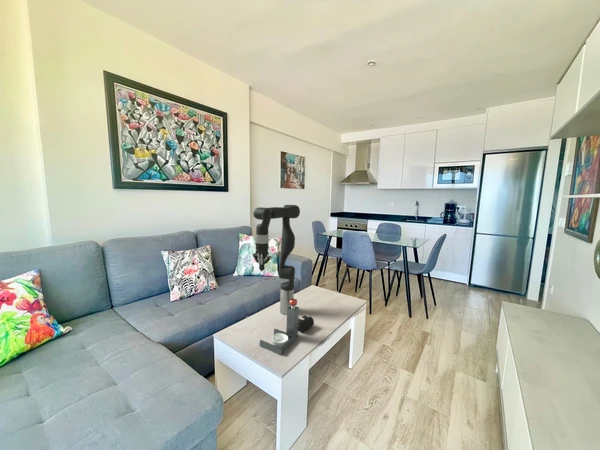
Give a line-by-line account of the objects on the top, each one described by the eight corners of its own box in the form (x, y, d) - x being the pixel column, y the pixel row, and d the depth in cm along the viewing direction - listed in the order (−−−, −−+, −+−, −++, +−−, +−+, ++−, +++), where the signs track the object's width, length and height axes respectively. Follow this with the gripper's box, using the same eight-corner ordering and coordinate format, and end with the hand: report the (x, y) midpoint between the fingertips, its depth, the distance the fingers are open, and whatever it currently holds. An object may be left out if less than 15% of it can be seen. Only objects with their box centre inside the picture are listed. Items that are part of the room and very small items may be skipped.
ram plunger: (291, 315, 143) (292, 297, 142) (297, 317, 141) (298, 299, 140) (287, 318, 140) (288, 300, 138) (294, 321, 138) (294, 302, 136)
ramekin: (268, 345, 133) (268, 338, 133) (278, 338, 140) (278, 331, 140) (281, 352, 128) (281, 344, 128) (291, 344, 135) (291, 336, 135)
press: (279, 329, 149) (280, 301, 147) (299, 336, 142) (300, 307, 140) (259, 345, 133) (259, 315, 130) (281, 355, 126) (281, 322, 123)
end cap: (303, 334, 145) (303, 324, 144) (294, 329, 150) (295, 319, 149) (313, 328, 152) (314, 318, 151) (305, 323, 157) (305, 313, 156)
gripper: (275, 242, 142) (274, 270, 145) (257, 239, 149) (257, 266, 151) (267, 244, 136) (266, 274, 138) (249, 241, 142) (248, 269, 145)
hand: (261, 270), depth 145 cm, fingers closed
